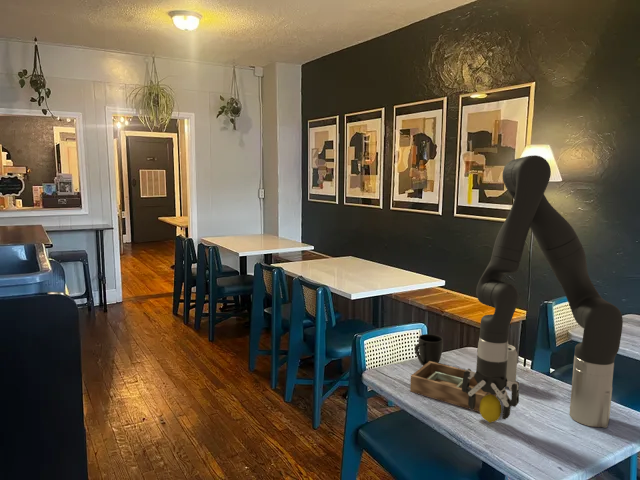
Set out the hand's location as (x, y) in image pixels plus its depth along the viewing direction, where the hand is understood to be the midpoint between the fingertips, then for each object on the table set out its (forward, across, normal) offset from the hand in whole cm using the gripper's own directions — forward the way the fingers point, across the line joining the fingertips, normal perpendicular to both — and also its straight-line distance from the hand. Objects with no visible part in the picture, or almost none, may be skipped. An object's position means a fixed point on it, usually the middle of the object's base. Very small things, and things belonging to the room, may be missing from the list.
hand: (488, 413), depth 127 cm
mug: (+3, +29, -24) cm, 38 cm away
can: (+3, +4, -27) cm, 27 cm away
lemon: (+3, -1, 0) cm, 3 cm away
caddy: (+3, +14, -11) cm, 17 cm away
